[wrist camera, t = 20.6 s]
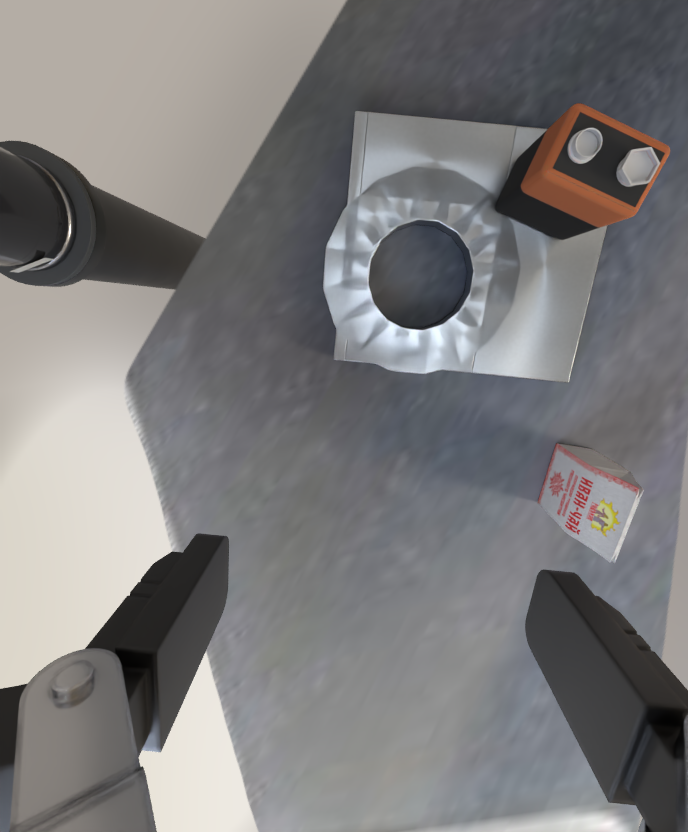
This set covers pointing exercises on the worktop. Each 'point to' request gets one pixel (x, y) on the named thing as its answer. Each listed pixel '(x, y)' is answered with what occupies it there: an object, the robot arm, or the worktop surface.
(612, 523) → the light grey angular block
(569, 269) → the sink plate
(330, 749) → the worktop surface
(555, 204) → the battery
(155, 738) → the robot arm
